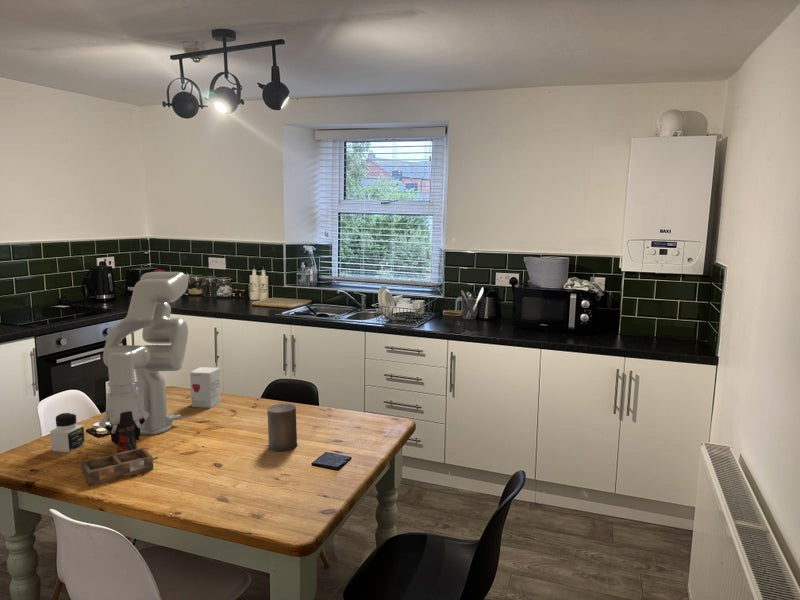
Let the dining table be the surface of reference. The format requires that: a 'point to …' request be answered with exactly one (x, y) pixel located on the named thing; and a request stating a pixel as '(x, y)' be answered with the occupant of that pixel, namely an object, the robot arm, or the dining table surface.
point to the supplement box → (205, 387)
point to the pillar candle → (282, 427)
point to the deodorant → (126, 433)
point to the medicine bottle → (67, 433)
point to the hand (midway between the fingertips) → (126, 440)
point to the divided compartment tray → (116, 466)
